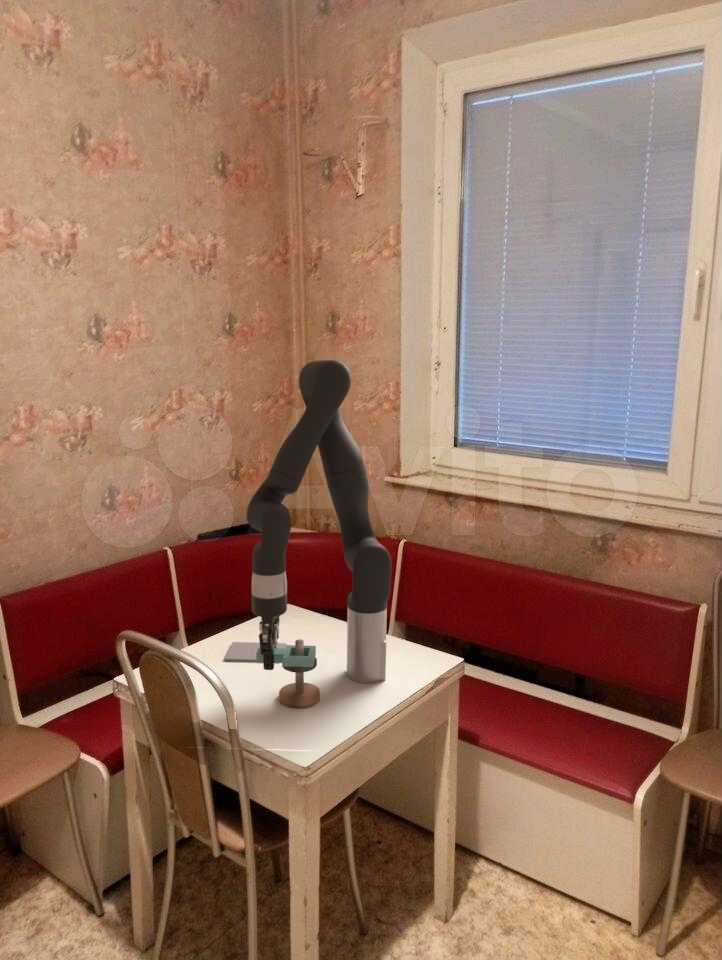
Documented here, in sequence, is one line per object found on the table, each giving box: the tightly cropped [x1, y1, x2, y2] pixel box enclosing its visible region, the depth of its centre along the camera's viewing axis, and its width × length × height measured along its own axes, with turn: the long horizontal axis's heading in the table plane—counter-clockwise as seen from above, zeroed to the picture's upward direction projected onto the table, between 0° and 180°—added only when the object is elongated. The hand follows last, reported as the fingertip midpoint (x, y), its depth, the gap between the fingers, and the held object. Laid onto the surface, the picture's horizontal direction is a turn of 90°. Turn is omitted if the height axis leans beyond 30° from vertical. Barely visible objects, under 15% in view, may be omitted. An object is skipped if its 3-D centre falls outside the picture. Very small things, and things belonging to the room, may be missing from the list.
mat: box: [224, 641, 288, 663], centre depth 179 cm, size 14×10×1 cm
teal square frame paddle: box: [255, 644, 317, 668], centre depth 155 cm, size 12×6×2 cm, turn 88°
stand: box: [278, 639, 321, 710], centre depth 155 cm, size 9×9×14 cm
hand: (270, 665), depth 155 cm, fingers closed on teal square frame paddle, 3 cm apart
